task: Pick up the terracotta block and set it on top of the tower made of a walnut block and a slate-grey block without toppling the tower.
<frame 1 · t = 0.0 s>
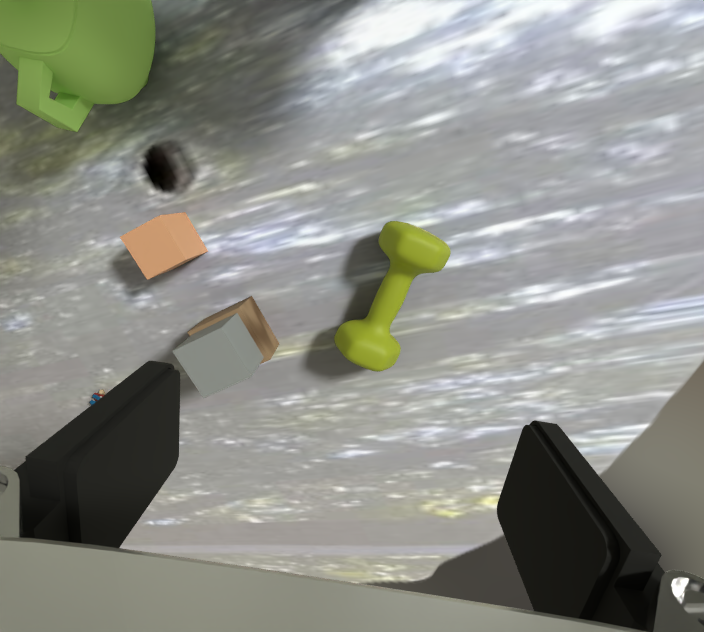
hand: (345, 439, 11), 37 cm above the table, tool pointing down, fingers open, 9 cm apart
tower base: (242, 331, 50), on the table, touching tower top
tower top: (228, 345, 45), point 5 cm above the table, touching tower base
dumbbell: (388, 289, 48), on the table
teapot: (108, 34, 41), on the table
terracotta block: (179, 241, 47), on the table
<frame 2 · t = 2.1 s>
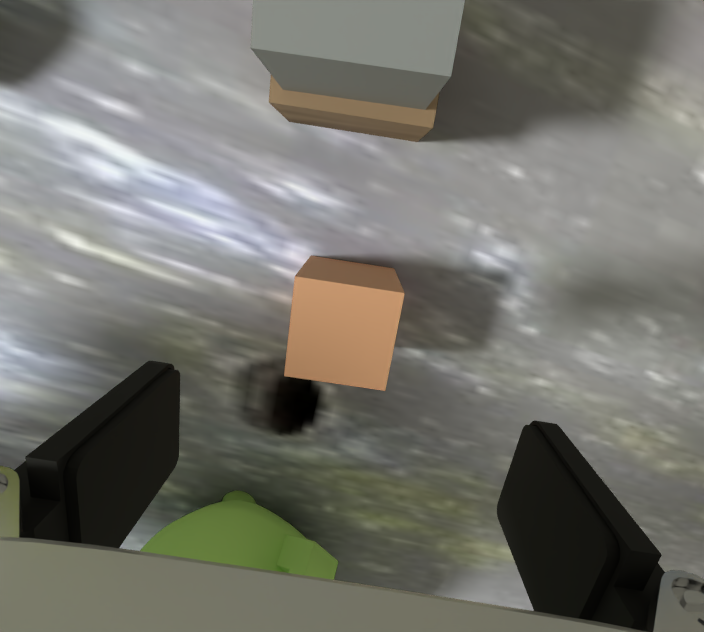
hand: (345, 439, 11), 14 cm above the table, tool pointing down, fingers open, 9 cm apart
tower base: (363, 58, 20), on the table, touching tower top
tower top: (364, 15, 16), point 5 cm above the table, touching tower base
teapot: (243, 548, 31), on the table
terracotta block: (346, 301, 24), on the table
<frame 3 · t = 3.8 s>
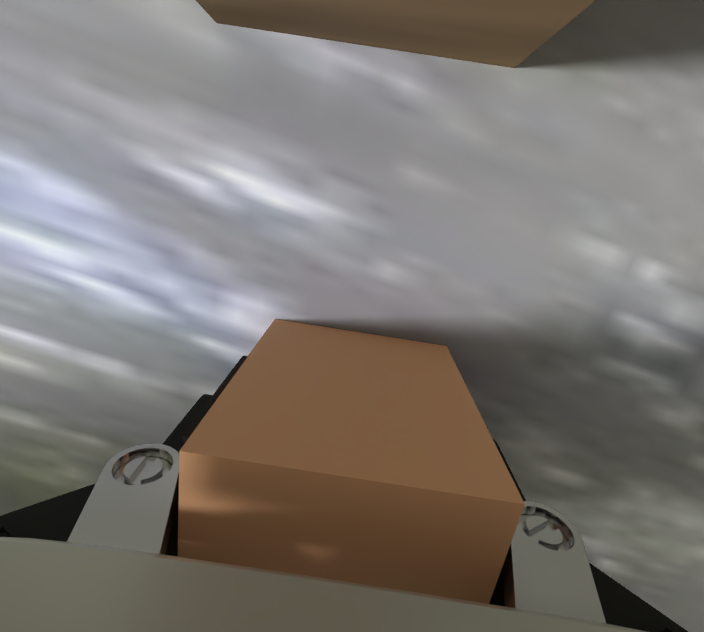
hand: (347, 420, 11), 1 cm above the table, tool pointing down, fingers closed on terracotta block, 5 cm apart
terracotta block: (348, 407, 12), on the table, touching gripper
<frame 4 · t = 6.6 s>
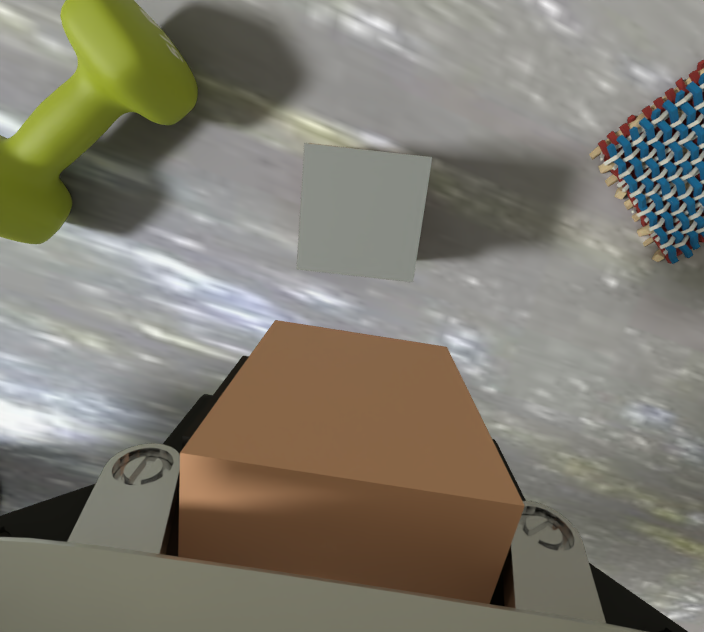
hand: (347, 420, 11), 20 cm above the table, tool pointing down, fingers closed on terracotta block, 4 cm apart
woven mat: (683, 162, 28), on the table
tower top: (362, 210, 24), point 5 cm above the table, touching tower base
dumbbell: (105, 133, 28), on the table
terracotta block: (348, 408, 12), point 19 cm above the table, touching gripper
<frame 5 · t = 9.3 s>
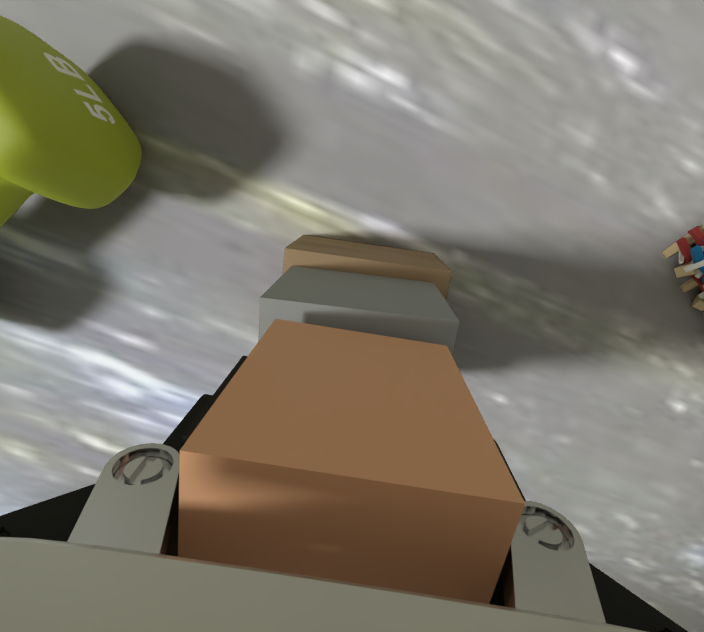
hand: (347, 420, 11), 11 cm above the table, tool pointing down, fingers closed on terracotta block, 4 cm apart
tower base: (359, 305, 22), on the table, touching tower top
tower top: (354, 340, 17), point 5 cm above the table, touching tower base
dumbbell: (27, 205, 21), on the table
terracotta block: (348, 407, 12), point 10 cm above the table, touching gripper
when the fingers open (11 cm above the table, at t = 9.7 s): terracotta block stays where it is, resting on tower top.
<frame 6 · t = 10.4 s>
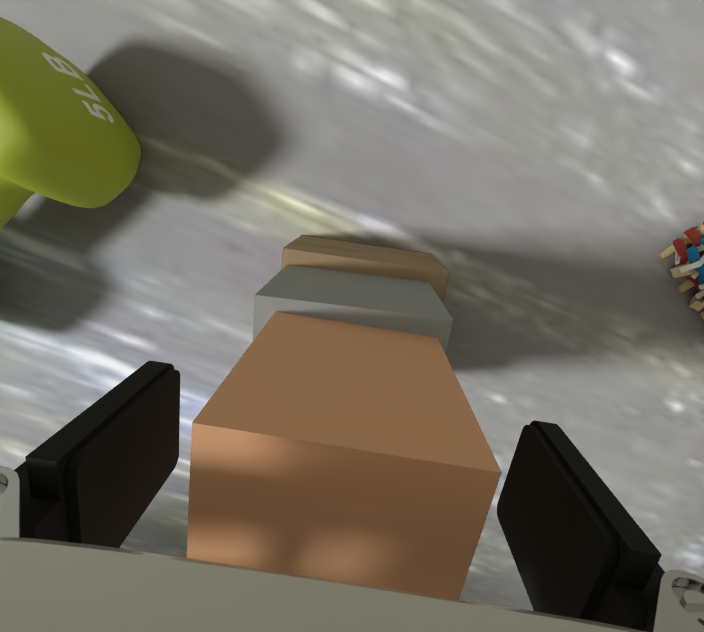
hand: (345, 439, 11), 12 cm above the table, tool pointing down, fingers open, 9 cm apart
tower base: (357, 305, 22), on the table, touching tower top
tower top: (349, 339, 18), point 5 cm above the table, touching terracotta block, tower base
dumbbell: (28, 206, 21), on the table
terracotta block: (344, 396, 13), point 10 cm above the table, touching tower top
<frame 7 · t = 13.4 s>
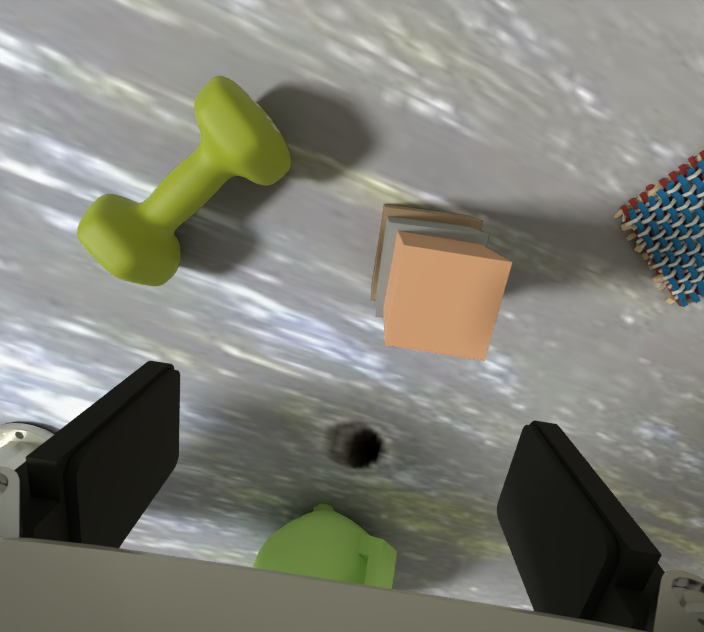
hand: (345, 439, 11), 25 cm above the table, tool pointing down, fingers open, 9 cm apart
tower base: (417, 251, 34), on the table, touching tower top
woven mat: (693, 221, 32), on the table
tower top: (421, 262, 29), point 5 cm above the table, touching terracotta block, tower base
dumbbell: (206, 189, 34), on the table
teapot: (324, 541, 45), on the table
terracotta block: (429, 277, 24), point 10 cm above the table, touching tower top
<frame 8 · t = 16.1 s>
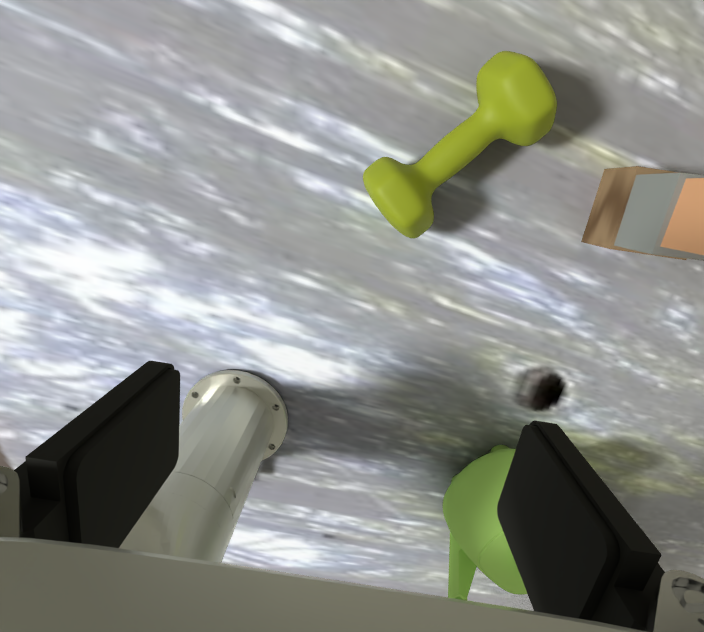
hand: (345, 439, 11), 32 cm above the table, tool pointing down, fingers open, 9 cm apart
tower base: (626, 211, 39), on the table, touching tower top
tower top: (659, 215, 34), point 5 cm above the table, touching terracotta block, tower base
dumbbell: (446, 155, 38), on the table
teapot: (494, 482, 50), on the table
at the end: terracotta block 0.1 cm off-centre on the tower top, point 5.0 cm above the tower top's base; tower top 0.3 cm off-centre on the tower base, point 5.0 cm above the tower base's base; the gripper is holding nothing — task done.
